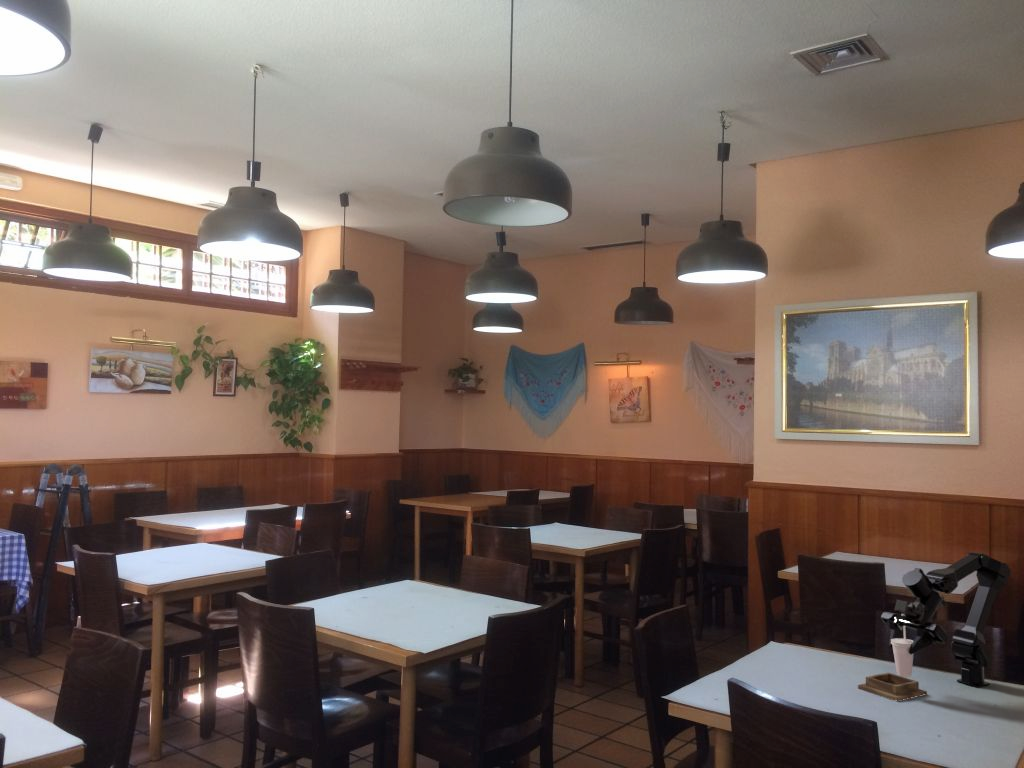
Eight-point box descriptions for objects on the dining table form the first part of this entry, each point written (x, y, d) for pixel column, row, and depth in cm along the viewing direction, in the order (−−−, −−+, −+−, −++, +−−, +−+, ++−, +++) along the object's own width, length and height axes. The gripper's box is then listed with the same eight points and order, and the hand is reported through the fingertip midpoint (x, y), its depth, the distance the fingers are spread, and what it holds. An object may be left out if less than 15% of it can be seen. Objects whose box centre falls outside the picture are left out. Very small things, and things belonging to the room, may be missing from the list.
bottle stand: (887, 682, 239) (887, 670, 239) (926, 694, 227) (926, 682, 228) (858, 688, 233) (857, 676, 233) (897, 701, 221) (896, 688, 222)
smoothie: (914, 679, 222) (912, 629, 222) (889, 675, 225) (888, 626, 226) (918, 674, 227) (916, 624, 228) (894, 670, 230) (892, 622, 231)
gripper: (883, 584, 238) (858, 625, 232) (939, 595, 221) (913, 640, 215) (902, 608, 240) (878, 649, 235) (959, 621, 224) (934, 665, 218)
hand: (899, 650), depth 226 cm, fingers closed on smoothie, 6 cm apart
